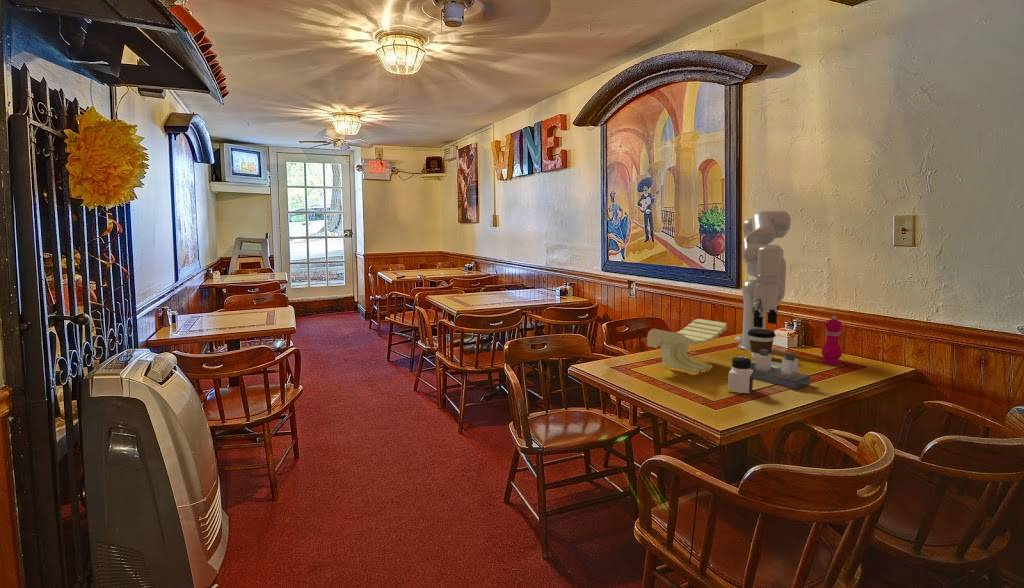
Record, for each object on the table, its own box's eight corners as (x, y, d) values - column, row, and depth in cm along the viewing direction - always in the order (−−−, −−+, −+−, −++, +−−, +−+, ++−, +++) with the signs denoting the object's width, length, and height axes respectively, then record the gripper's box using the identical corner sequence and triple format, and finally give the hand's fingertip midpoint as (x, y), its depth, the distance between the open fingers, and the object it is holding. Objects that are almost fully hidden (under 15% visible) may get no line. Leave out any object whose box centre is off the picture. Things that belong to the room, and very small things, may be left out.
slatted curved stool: (691, 358, 237) (692, 317, 234) (725, 365, 224) (726, 323, 222) (646, 370, 219) (647, 327, 216) (680, 380, 206) (681, 334, 204)
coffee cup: (743, 355, 240) (745, 328, 239) (770, 356, 238) (772, 329, 236) (749, 361, 230) (750, 333, 228) (777, 362, 228) (778, 334, 226)
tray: (744, 367, 221) (744, 363, 221) (759, 363, 227) (759, 358, 227) (771, 374, 212) (771, 369, 212) (786, 368, 219) (786, 364, 218)
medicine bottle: (749, 395, 188) (751, 361, 187) (727, 392, 192) (728, 358, 190) (752, 389, 194) (754, 356, 193) (731, 386, 198) (732, 354, 196)
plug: (754, 375, 208) (756, 349, 206) (760, 373, 210) (761, 348, 209) (764, 377, 204) (766, 351, 203) (770, 375, 207) (771, 350, 205)
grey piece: (733, 375, 212) (734, 346, 210) (747, 370, 217) (748, 342, 216) (795, 390, 192) (797, 358, 191) (809, 384, 198) (811, 354, 197)
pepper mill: (835, 361, 228) (839, 314, 225) (844, 366, 221) (848, 317, 218) (817, 361, 229) (820, 314, 226) (825, 365, 222) (829, 317, 219)
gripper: (769, 277, 210) (767, 320, 213) (744, 281, 200) (742, 326, 203) (789, 278, 204) (786, 323, 207) (764, 283, 194) (762, 330, 197)
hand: (765, 325), depth 205 cm, fingers open, 9 cm apart
